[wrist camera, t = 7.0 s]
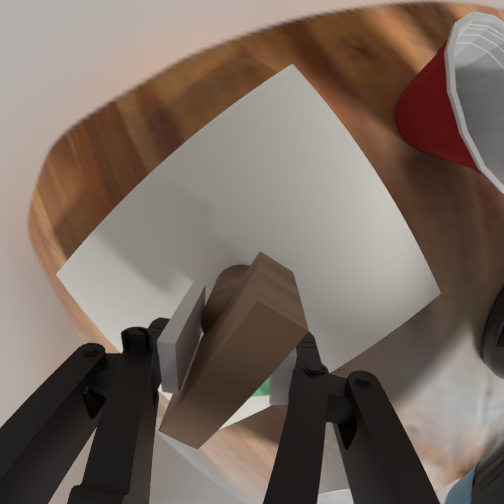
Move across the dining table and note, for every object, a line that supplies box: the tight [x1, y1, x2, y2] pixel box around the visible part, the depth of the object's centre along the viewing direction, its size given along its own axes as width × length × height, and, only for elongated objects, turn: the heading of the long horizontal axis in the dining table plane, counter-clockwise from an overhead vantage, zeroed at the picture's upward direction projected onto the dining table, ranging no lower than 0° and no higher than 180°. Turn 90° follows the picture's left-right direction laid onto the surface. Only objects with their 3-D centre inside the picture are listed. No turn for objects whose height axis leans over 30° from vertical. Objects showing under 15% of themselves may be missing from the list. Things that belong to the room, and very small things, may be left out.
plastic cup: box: [396, 12, 504, 194], centre depth 14 cm, size 11×11×12 cm
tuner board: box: [56, 64, 441, 429], centre depth 22 cm, size 24×20×4 cm
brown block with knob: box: [158, 251, 309, 449], centre depth 16 cm, size 13×4×10 cm, turn 147°
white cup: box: [317, 422, 354, 504], centre depth 24 cm, size 8×8×10 cm
